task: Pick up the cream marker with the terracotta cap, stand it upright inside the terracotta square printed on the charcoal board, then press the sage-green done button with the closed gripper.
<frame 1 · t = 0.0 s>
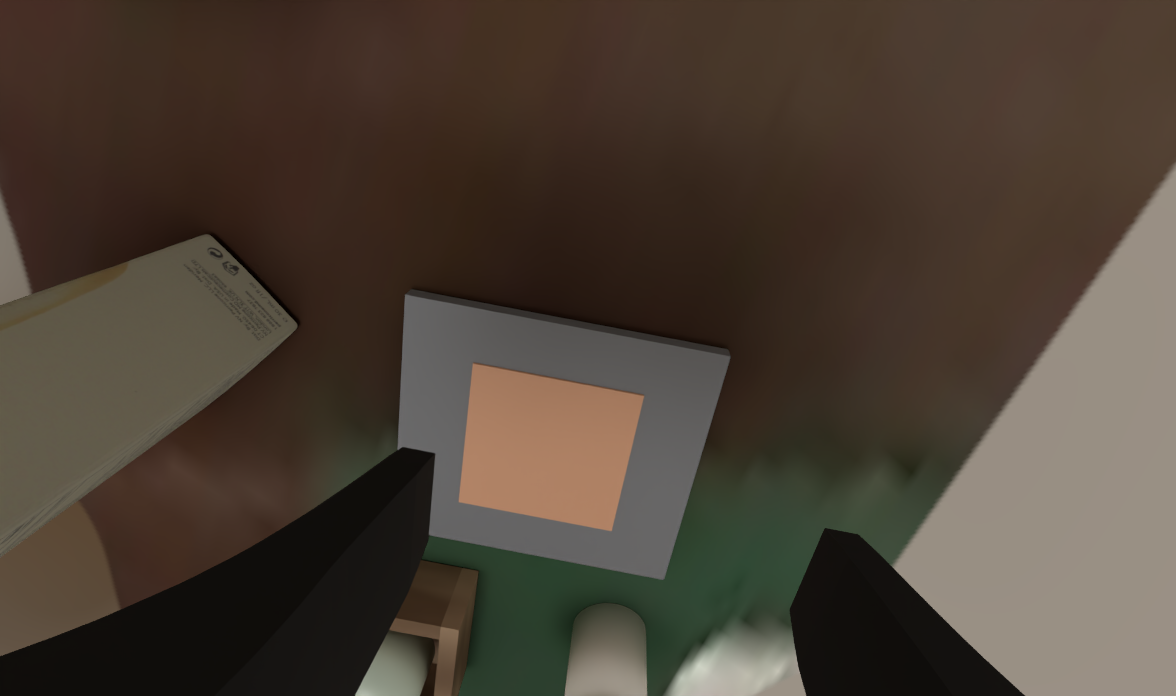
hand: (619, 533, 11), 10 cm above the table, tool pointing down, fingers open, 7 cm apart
skincare box: (208, 326, 21), on the table
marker: (609, 630, 26), on the table
colouring board: (548, 441, 22), on the table
done button: (375, 676, 23), point 3 cm above the table, slide at 0.0 cm
button housing: (405, 608, 26), on the table
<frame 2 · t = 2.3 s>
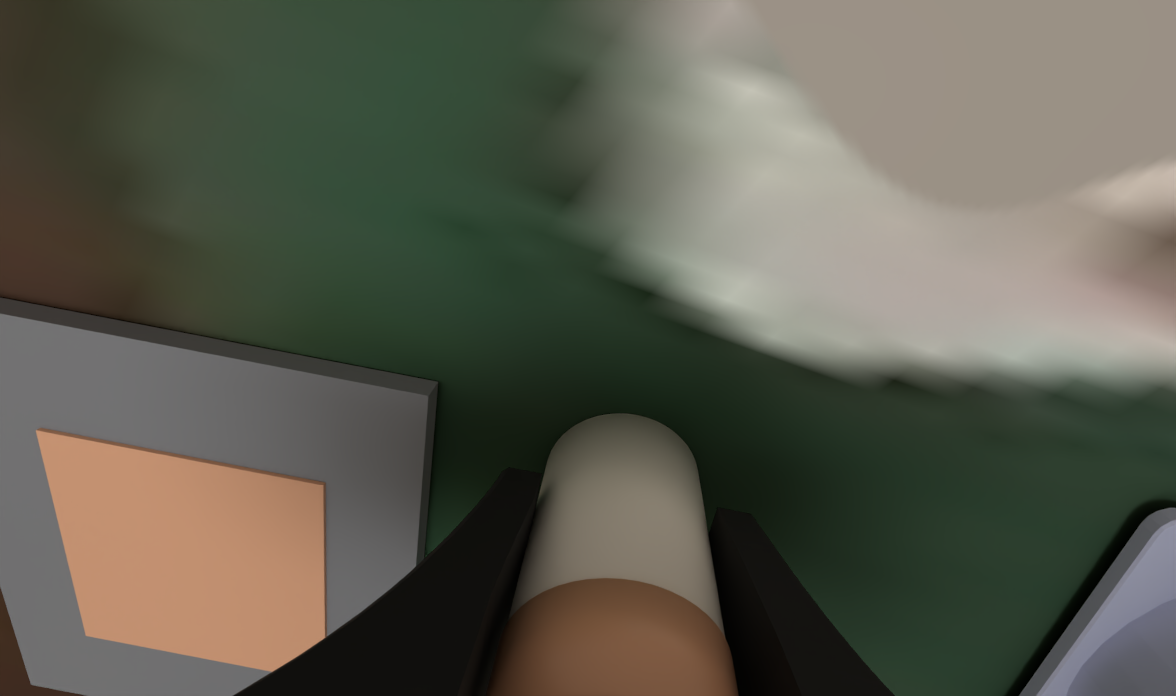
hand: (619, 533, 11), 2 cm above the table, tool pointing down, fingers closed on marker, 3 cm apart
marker: (621, 480, 12), on the table, touching gripper
colouring board: (214, 545, 14), on the table
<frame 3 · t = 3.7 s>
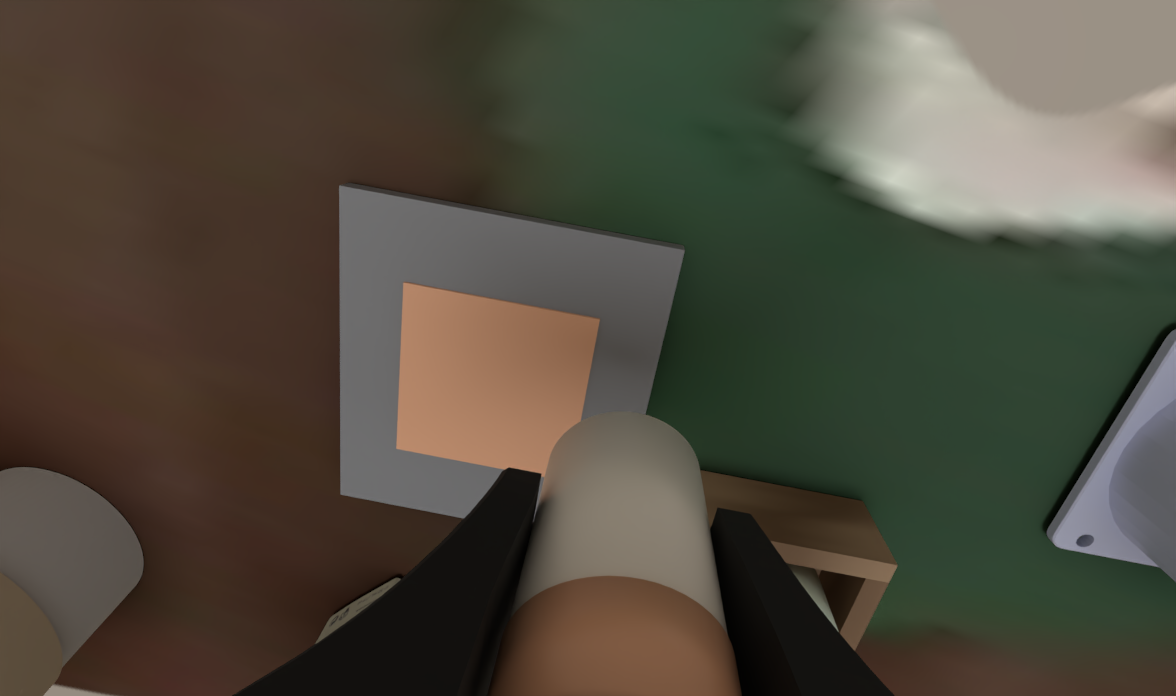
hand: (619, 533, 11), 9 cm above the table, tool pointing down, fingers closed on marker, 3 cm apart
skincare box: (419, 637, 25), on the table
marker: (622, 478, 12), point 7 cm above the table, touching gripper
colouring board: (496, 378, 19), on the table
done button: (770, 626, 18), point 3 cm above the table, slide at 0.0 cm
coffee cup: (66, 533, 24), on the table
button housing: (752, 551, 21), on the table
when the fingers open (3 cm above the table, at t = 5.3 s): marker stays where it is, resting on colouring board.
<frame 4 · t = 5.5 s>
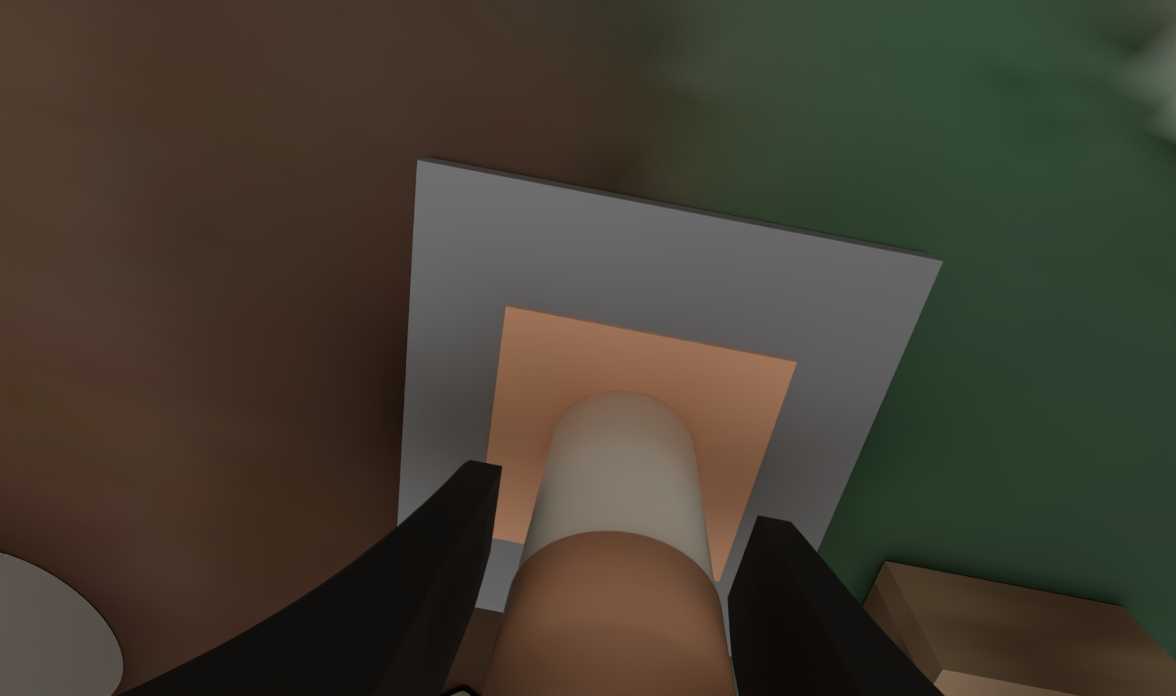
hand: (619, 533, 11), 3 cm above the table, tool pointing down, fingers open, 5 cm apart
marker: (621, 454, 13), point 1 cm above the table, touching colouring board
colouring board: (622, 439, 14), on the table
coffee cup: (20, 627, 18), on the table
button housing: (952, 666, 16), on the table
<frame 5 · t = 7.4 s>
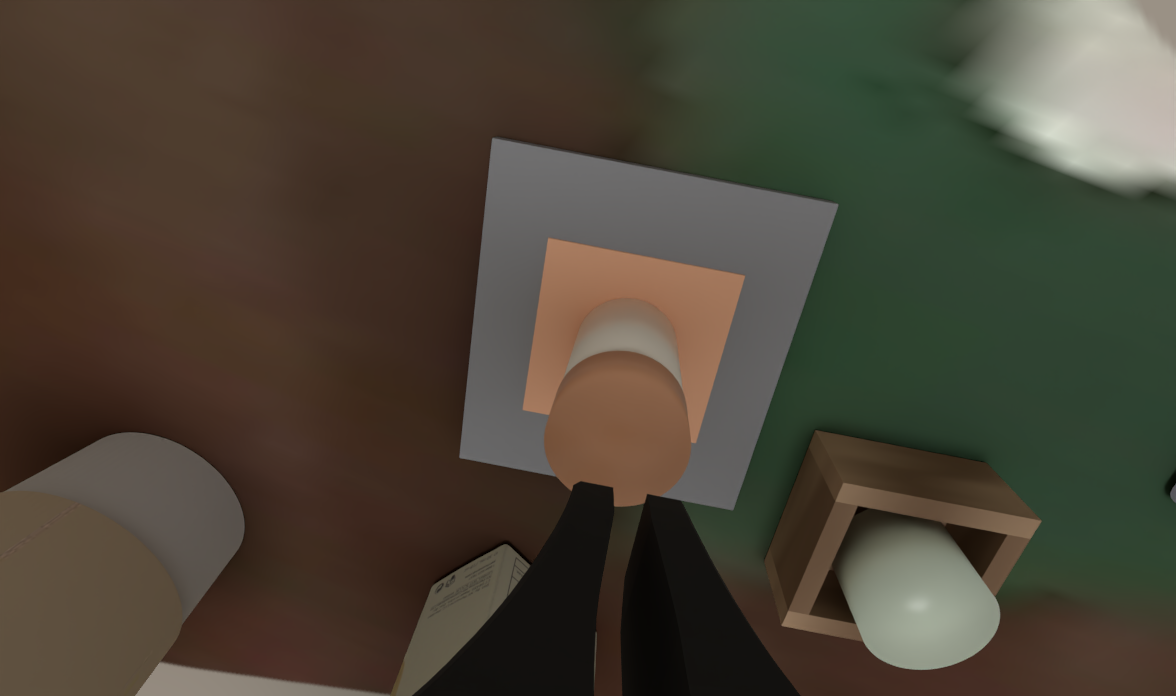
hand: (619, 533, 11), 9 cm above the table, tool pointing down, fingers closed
skincare box: (519, 606, 25), on the table
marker: (626, 346, 19), point 1 cm above the table, touching colouring board
colouring board: (627, 338, 19), on the table
done button: (907, 583, 18), point 3 cm above the table, slide at 0.0 cm
coffee cup: (165, 501, 24), on the table
button housing: (869, 514, 21), on the table
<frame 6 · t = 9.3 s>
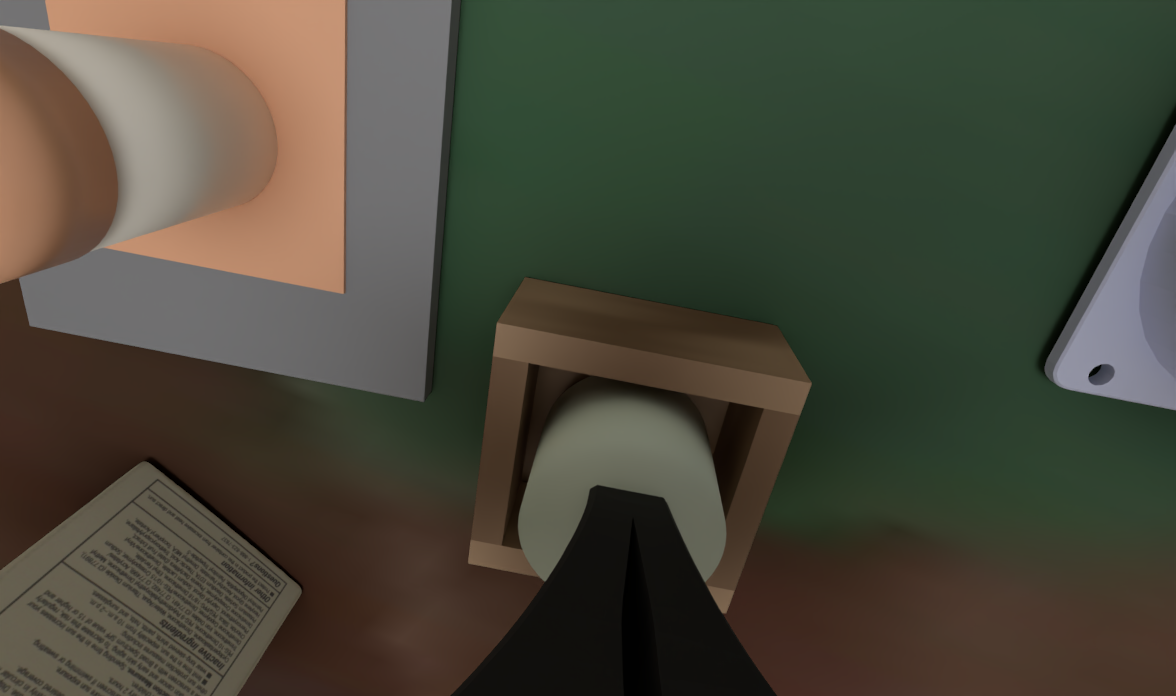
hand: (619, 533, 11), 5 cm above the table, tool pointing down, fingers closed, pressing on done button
skincare box: (199, 553, 18), on the table
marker: (200, 130, 12), point 1 cm above the table, touching colouring board
colouring board: (225, 131, 13), on the table
done button: (622, 485, 12), point 3 cm above the table, slide at 0.2 cm, touching gripper
button housing: (625, 411, 15), on the table
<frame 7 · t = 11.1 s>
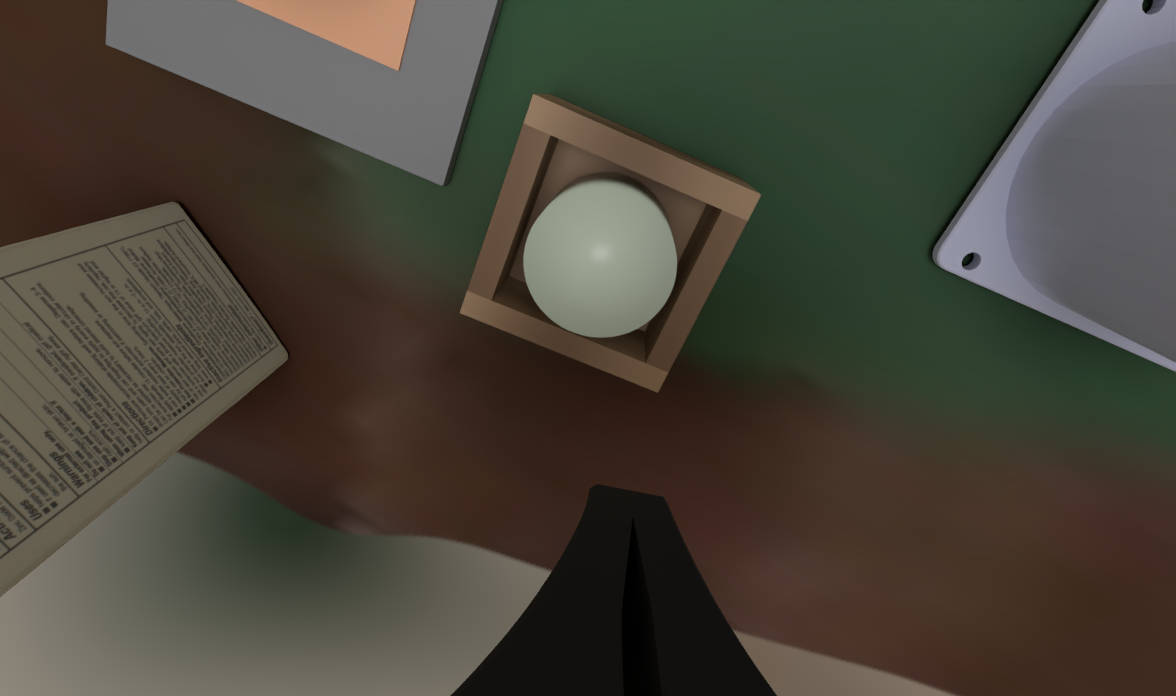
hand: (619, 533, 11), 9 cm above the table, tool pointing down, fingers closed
skincare box: (199, 307, 20), on the table
done button: (602, 251, 16), point 2 cm above the table, slide at 0.9 cm
button housing: (606, 232, 18), on the table
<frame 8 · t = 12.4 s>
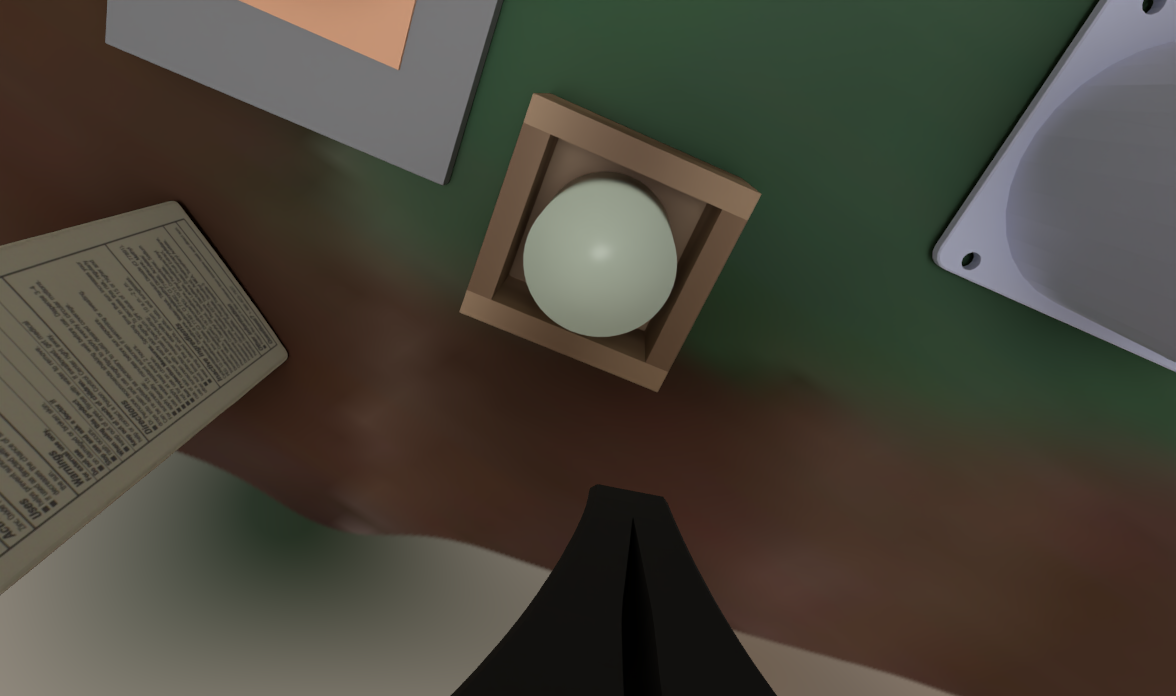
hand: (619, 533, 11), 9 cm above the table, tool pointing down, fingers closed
skincare box: (199, 306, 20), on the table
done button: (602, 250, 16), point 2 cm above the table, slide at 0.9 cm
button housing: (606, 232, 18), on the table
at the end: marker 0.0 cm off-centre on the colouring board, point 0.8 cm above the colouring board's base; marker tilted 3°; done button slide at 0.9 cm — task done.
